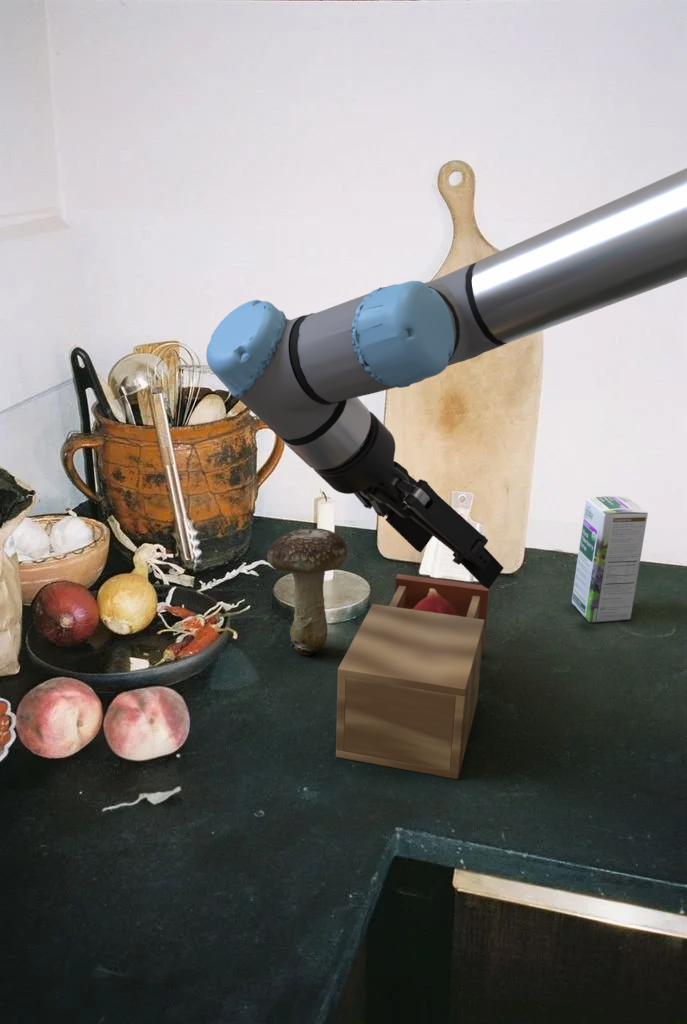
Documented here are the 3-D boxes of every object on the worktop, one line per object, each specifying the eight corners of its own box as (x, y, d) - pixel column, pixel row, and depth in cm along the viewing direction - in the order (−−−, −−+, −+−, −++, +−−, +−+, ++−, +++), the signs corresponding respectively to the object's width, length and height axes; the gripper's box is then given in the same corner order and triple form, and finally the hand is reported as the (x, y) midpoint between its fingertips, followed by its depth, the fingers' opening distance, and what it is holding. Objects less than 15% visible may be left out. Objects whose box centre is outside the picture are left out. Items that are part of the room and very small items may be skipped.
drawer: (403, 616, 113) (406, 557, 110) (489, 628, 111) (494, 568, 108) (369, 690, 98) (372, 623, 95) (468, 706, 95) (474, 638, 92)
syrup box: (569, 602, 120) (582, 496, 114) (612, 600, 121) (627, 494, 115) (588, 623, 114) (603, 513, 109) (633, 620, 115) (650, 510, 110)
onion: (467, 651, 103) (468, 583, 101) (451, 673, 98) (453, 602, 96) (416, 643, 105) (417, 576, 103) (399, 664, 100) (399, 594, 98)
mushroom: (291, 682, 100) (292, 554, 95) (252, 647, 107) (251, 526, 102) (363, 659, 105) (368, 536, 100) (322, 627, 112) (325, 510, 106)
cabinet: (369, 683, 100) (372, 603, 97) (477, 701, 98) (484, 619, 94) (335, 757, 88) (337, 668, 85) (458, 779, 85) (465, 688, 82)
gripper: (445, 437, 77) (557, 568, 92) (298, 381, 95) (412, 499, 109) (392, 509, 76) (513, 630, 91) (253, 439, 94) (373, 550, 108)
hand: (458, 558), depth 100 cm, fingers open, 10 cm apart
